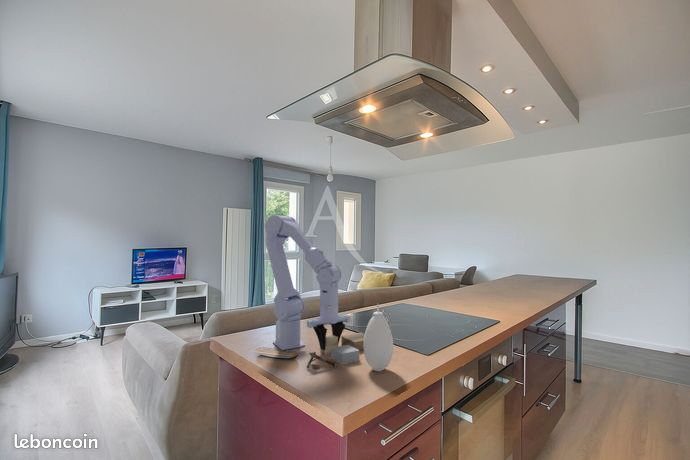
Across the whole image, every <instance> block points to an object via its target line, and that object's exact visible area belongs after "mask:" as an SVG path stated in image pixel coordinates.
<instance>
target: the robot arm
mask: <svg viewBox="0 0 690 460" xmlns="http://www.w3.org/2000/svg"><path fill="white" fill-rule="evenodd" d="M264 229H265V234H266V235H265V236H266V237H265V238H266V239H265V244H266V245H265V246H266V249H267V254H268V257H269V261H270V266H271V270H272V274H273V278H274V283H275V286H276V290H277V293H276V295H275V296H274V298H273V302H274V306H273V312H274V315H275V317H276V318H277V320H276V322H275V340H272V343H273V344H274V345H275V346H276V347H278V348H279V349H280V350H282V351H285V350H290V349H291V350H292V349H296V348H301V347H305V346H306V345H305V343H303V342H302V341H301V317H302V314H303V313H304V312H305V311H304V310H305V305H306V304H305V301H304V299H303V298H302V297H301V294H300V292H299V291H298V290H297V289H296V288H295V287H294V282H293V279H292V277H291V273H290V268H289V267H290V266H289V264H288V260H287V256H286V253H285V248H284V243H285V242H286V241H287V239H289V238H291V239H292V240H293V242H294V243H295V244H296V245H297V246H298V247H299V248H300V249H301V250H302V251H303V253H304V260H305V261H306V263H308V265H309V266H310V268H311V269H312V270H313V271H314V273H315V274H316V276H315V277H316V281H317V283H318V285H319V290H320V291H319V317H317V318H313V319H307V320H306V328H309V329H312V328H313V330H314V332H315V334H316V336H317V337H316V338H317V340H318V343H319V349H320V350H321V349H322V350H325V346H326V342H325V340H326V335H327V331H328V329H327V328H326V327H325V326H329V325H330V326H331V334H333V335H335V336H337V337H338V345H339V342H340V339H341V336H342V333H343V332H344V330H345V328H346V324H345V323H350V322H351V316H350V315H348V314H343V315H339V281H340V280H341V279H342V272H341V269H340V267H339V266H338V265H335V264H333V261H331V260H329V259H328V258H327V257H326V255H325V254H324V250H323V249H321V248H320V247H314V246H313V244H312V243H311V241H310V240H309V239H308V237H307V236H306V235H305V233H304V232H303V230H302V229H301V227H300V224H299V222H297V221H296V219H295V217H293V216H284V215H277V214H272V215H270V216H269V217H268V218H267V220H266V222H265V223H264Z"/></svg>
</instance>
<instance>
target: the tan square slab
mask: <svg viewBox="0 0 690 460" xmlns="http://www.w3.org/2000/svg"><path fill="white" fill-rule="evenodd" d="M364 336H365V333H363V332H355V333H351V334H346V335H341V337H340V339H341V345H340V346H344V345H350V346H352V347H354V348H356V349H358V350H359V352H360V351H364Z"/></svg>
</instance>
